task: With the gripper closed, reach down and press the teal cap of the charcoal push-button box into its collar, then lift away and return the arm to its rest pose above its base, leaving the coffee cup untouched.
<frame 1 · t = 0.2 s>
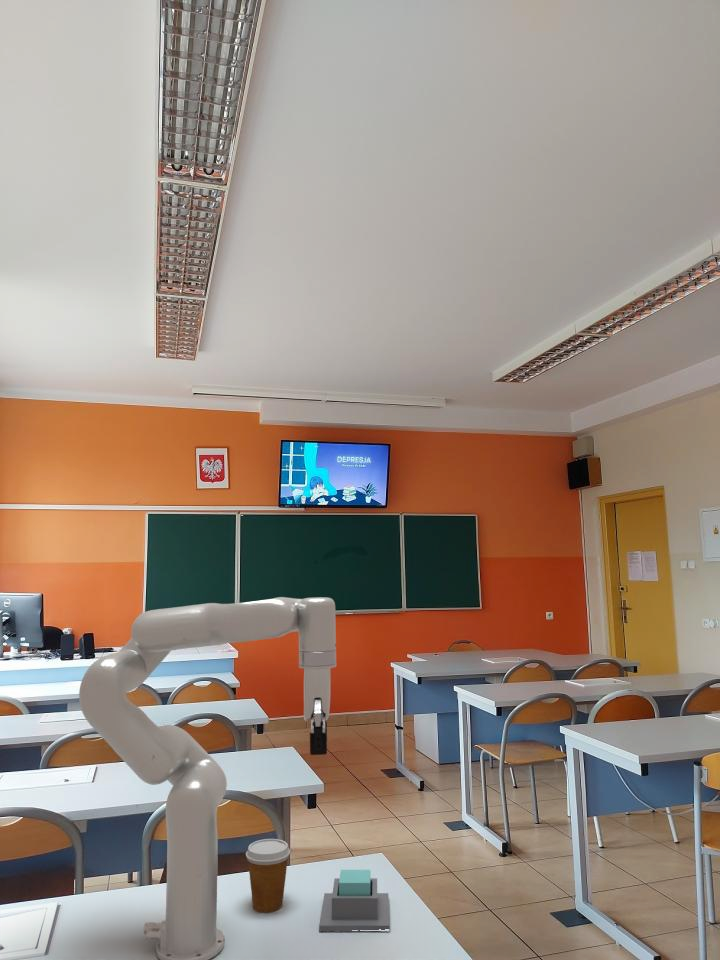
hand: (318, 748, 135), 36 cm above the table, tool pointing down, fingers open, 9 cm apart
disposable coffee cup: (267, 906, 146), on the table
button housing: (355, 914, 142), on the table
button cap: (355, 886, 142), point 5 cm above the table, slide at 0.0 cm
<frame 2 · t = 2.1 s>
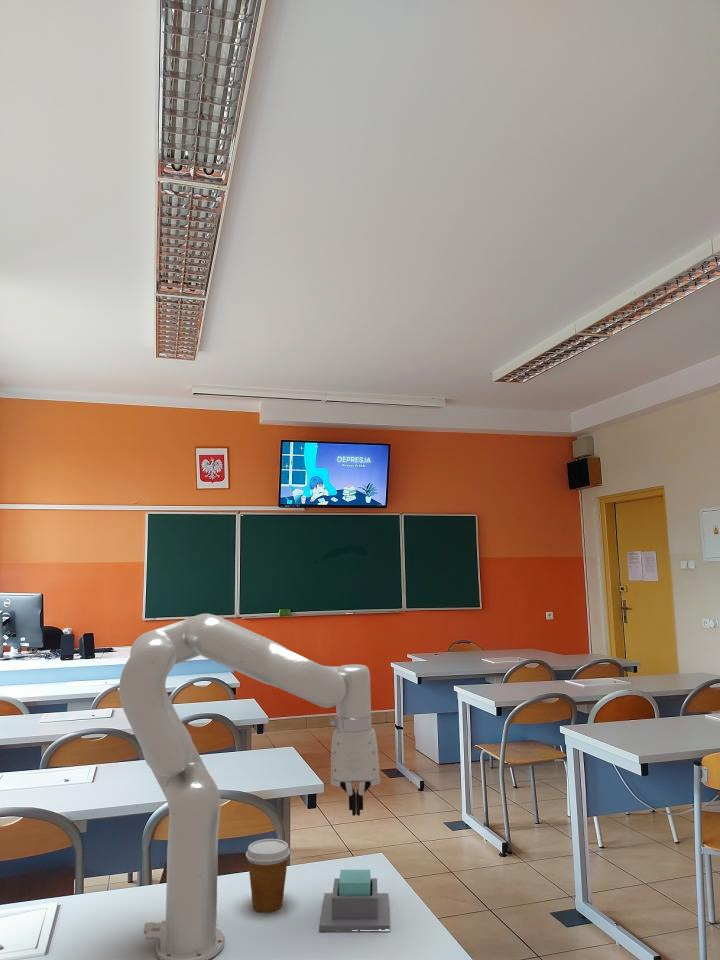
hand: (356, 813, 145), 20 cm above the table, tool pointing down, fingers closed
nothing on the table moved.
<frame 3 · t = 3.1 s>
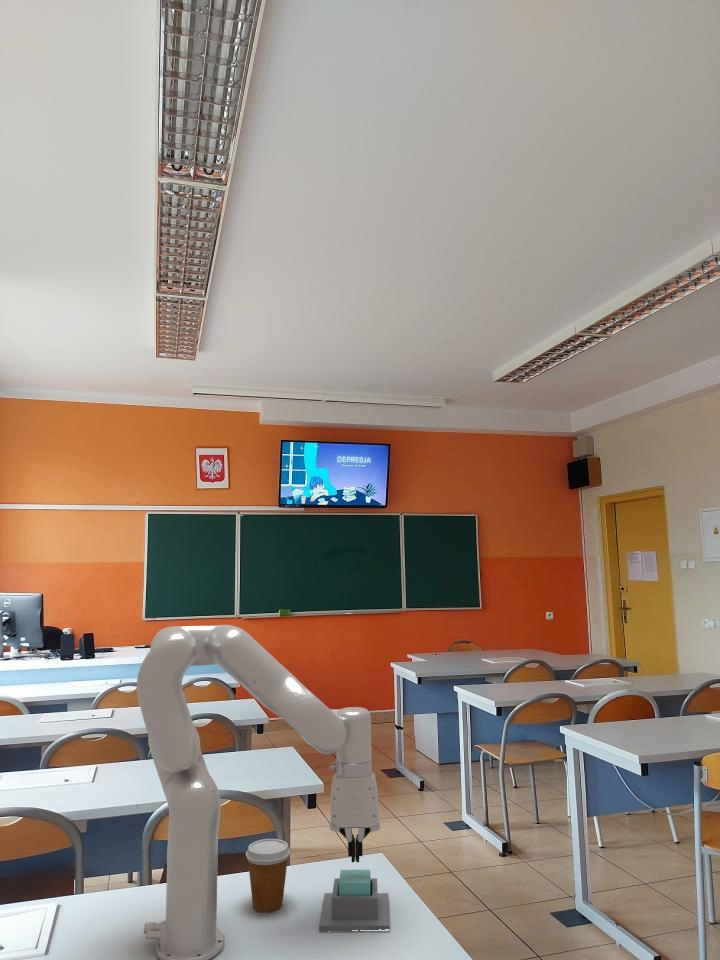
hand: (355, 859, 143), 11 cm above the table, tool pointing down, fingers closed
nothing on the table moved.
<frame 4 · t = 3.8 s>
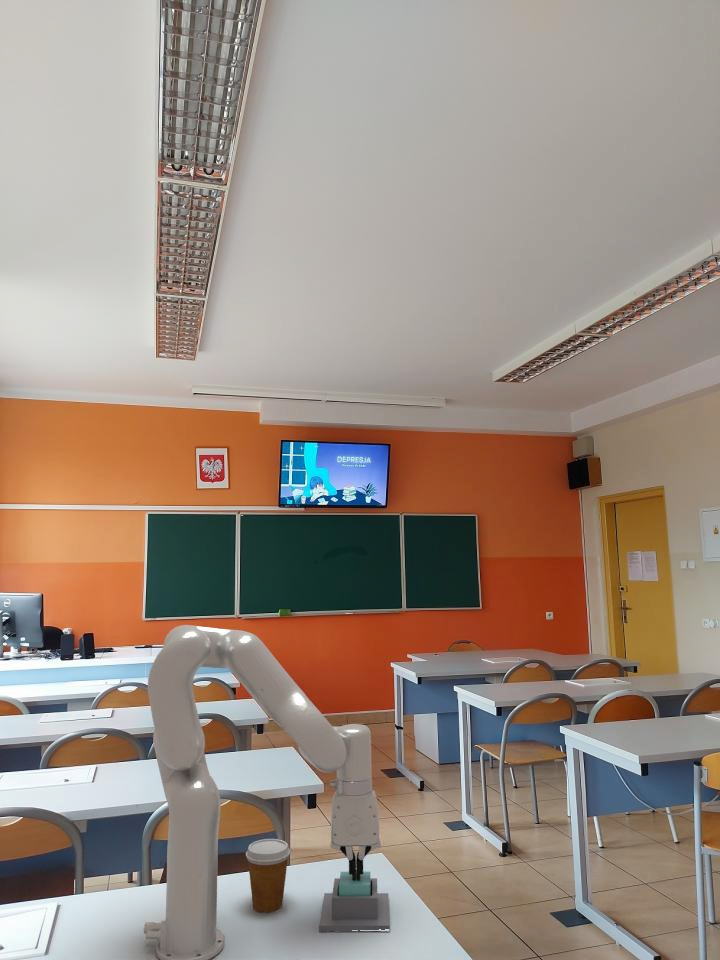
hand: (356, 877, 143), 7 cm above the table, tool pointing down, fingers closed
button cap: (355, 888, 142), point 5 cm above the table, slide at 0.4 cm, touching gripper
everything else where it was.
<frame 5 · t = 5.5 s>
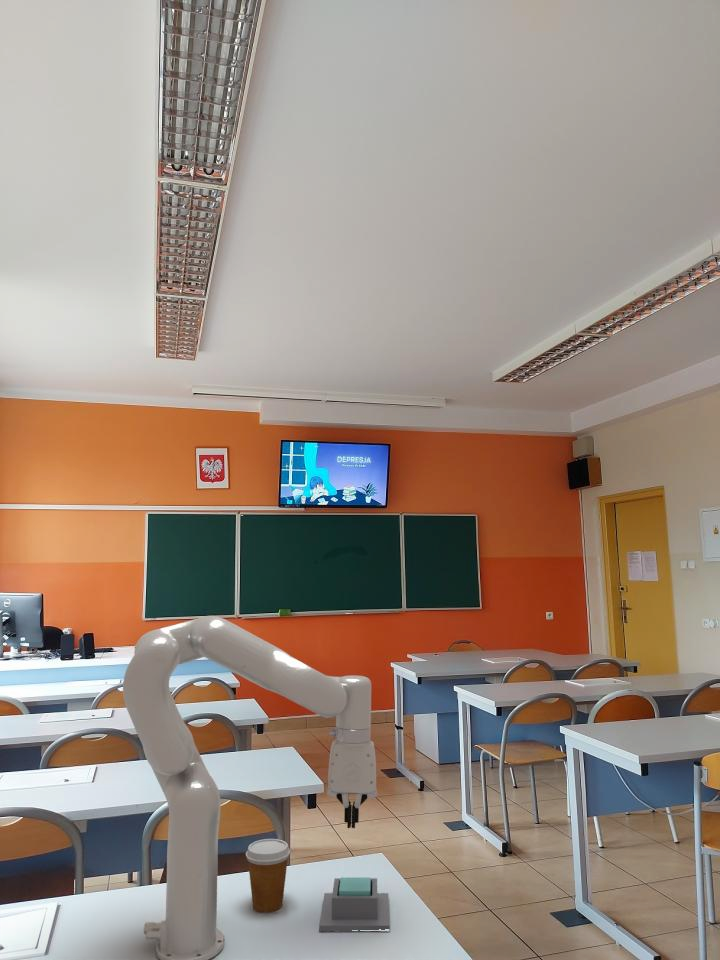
hand: (351, 825, 144), 18 cm above the table, tool pointing down, fingers closed
button cap: (355, 894, 142), point 4 cm above the table, slide at 1.6 cm
everything else where it was.
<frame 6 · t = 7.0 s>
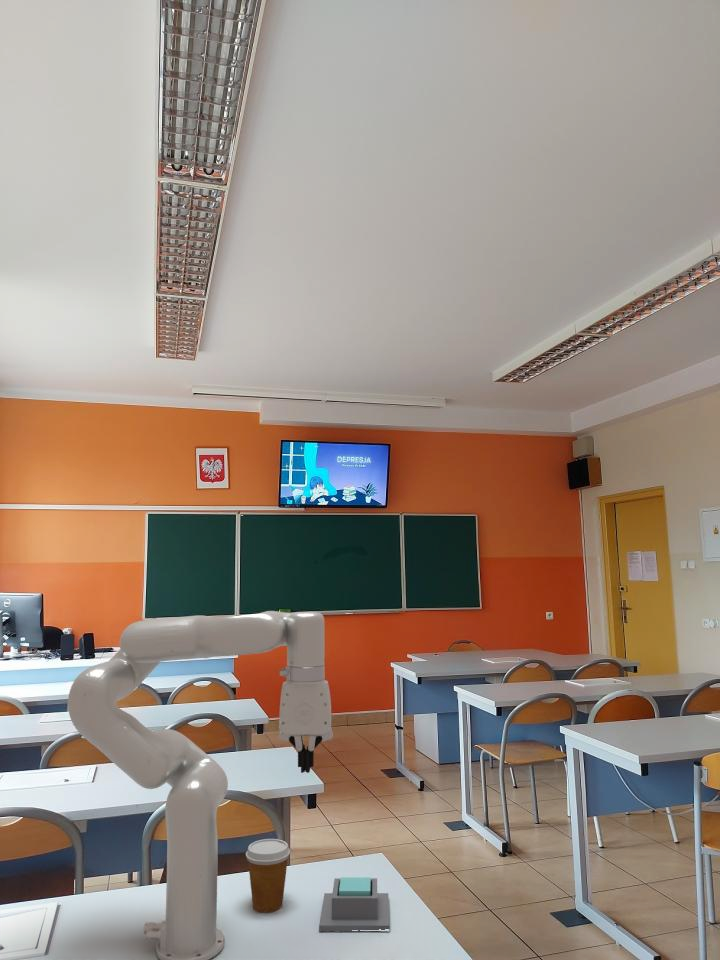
hand: (305, 770, 134), 32 cm above the table, tool pointing down, fingers closed
nothing on the table moved.
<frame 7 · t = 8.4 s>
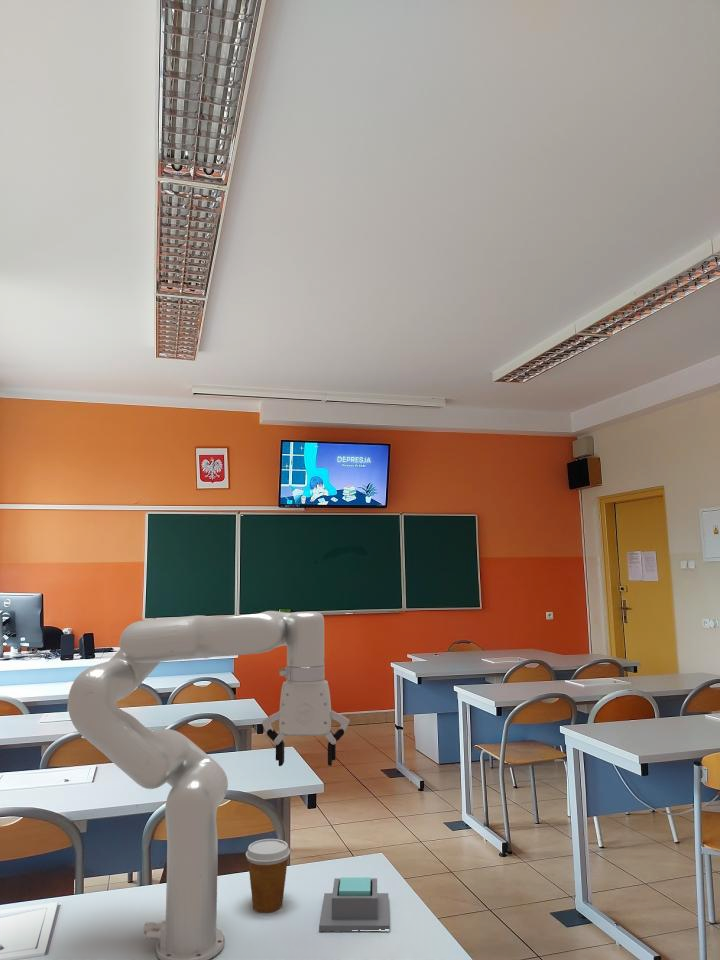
hand: (305, 764, 134), 33 cm above the table, tool pointing down, fingers open, 9 cm apart
nothing on the table moved.
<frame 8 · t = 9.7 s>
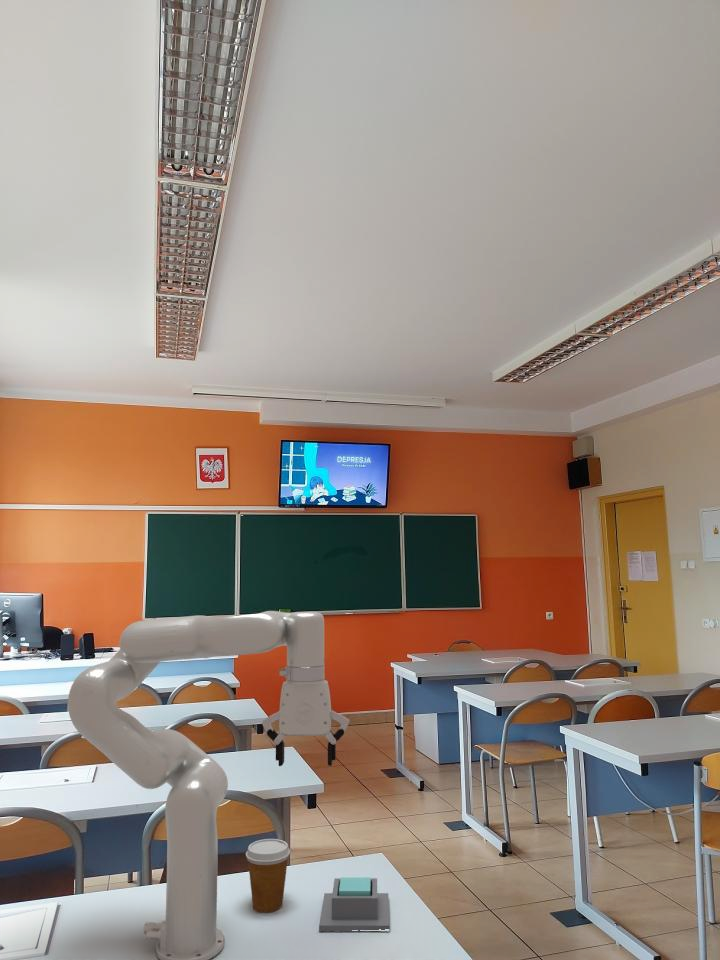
hand: (305, 764, 134), 33 cm above the table, tool pointing down, fingers open, 9 cm apart
nothing on the table moved.
at the end: button cap slide at 1.6 cm; disposable coffee cup moved 0.2 cm from its start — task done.
